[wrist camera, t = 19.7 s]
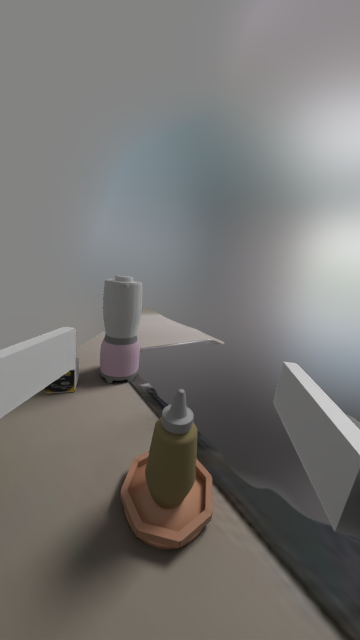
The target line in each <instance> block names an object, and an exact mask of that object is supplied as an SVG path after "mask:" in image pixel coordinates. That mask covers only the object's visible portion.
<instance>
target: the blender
mask: <svg viewBox="0 0 360 640" xmlns="http://www.w3.org/2000/svg"><path fill="white" fill-rule="evenodd" d="M141 308H142V283H141V282H136V281H133V277H128V276H115V279H106V280H105V286H104V298H103V316H104V324H105V331H106V335H105V338H104V340H103V342H102V344H101V352H100V375H101V376H102V377H104V378H106V382H108V383H112V382H113V380H116V381H120V380H127V382H131V381H133V379H134V377H135V376H136V375H137V374H138V364H139V352H140V346H139V342H138V340H137V330H138V326H139V322H140V317H141Z"/></svg>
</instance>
